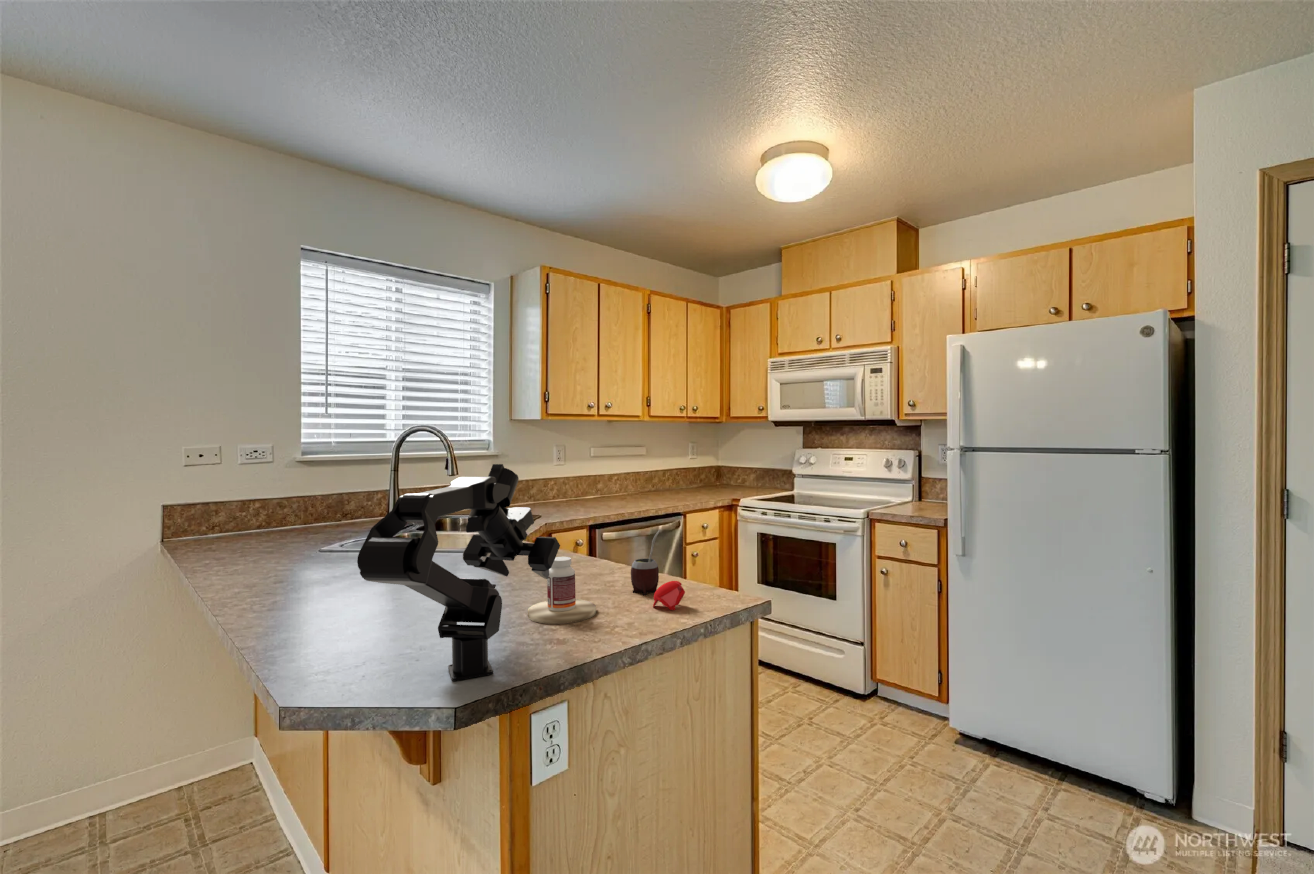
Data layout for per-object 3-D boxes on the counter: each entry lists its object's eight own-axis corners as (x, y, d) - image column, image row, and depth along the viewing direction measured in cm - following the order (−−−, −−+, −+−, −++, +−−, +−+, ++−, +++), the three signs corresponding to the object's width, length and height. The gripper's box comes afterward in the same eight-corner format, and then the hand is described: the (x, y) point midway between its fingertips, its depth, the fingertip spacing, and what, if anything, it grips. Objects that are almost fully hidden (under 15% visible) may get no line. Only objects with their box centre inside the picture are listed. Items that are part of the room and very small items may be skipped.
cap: (689, 589, 138) (668, 575, 139) (688, 587, 132) (666, 572, 134) (670, 619, 136) (649, 604, 137) (668, 618, 130) (646, 602, 132)
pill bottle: (581, 606, 132) (580, 557, 132) (563, 613, 127) (562, 562, 127) (559, 603, 135) (559, 554, 135) (541, 609, 130) (540, 559, 130)
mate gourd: (630, 596, 145) (629, 535, 145) (632, 587, 153) (631, 530, 153) (660, 595, 145) (659, 534, 145) (661, 587, 153) (660, 529, 153)
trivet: (605, 617, 128) (605, 612, 128) (537, 628, 121) (536, 622, 121) (584, 600, 141) (583, 595, 141) (521, 609, 135) (521, 604, 135)
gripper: (554, 495, 111) (581, 544, 121) (471, 493, 117) (503, 541, 127) (533, 543, 103) (563, 592, 114) (445, 539, 109) (481, 586, 120)
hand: (527, 575), depth 119 cm, fingers open, 9 cm apart
